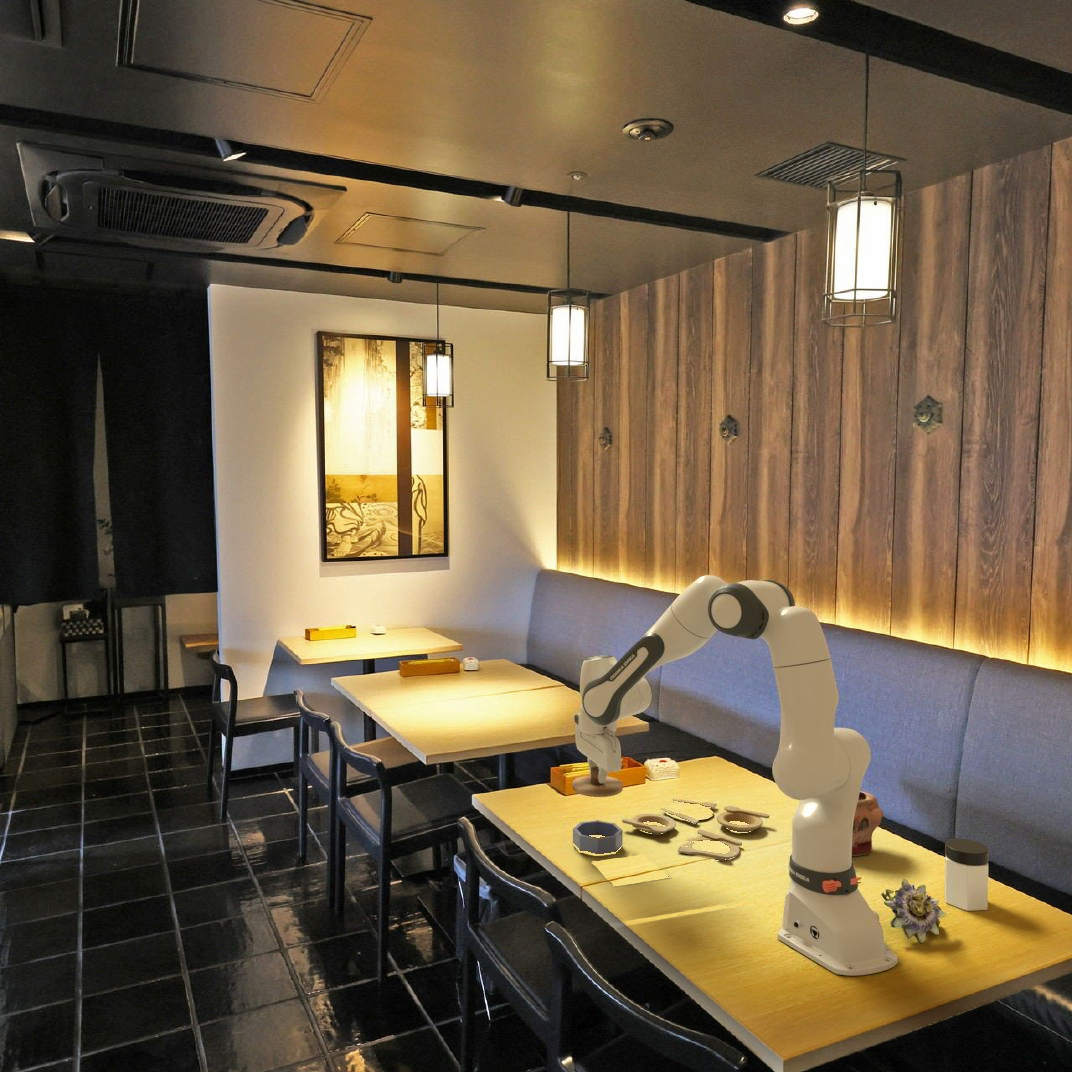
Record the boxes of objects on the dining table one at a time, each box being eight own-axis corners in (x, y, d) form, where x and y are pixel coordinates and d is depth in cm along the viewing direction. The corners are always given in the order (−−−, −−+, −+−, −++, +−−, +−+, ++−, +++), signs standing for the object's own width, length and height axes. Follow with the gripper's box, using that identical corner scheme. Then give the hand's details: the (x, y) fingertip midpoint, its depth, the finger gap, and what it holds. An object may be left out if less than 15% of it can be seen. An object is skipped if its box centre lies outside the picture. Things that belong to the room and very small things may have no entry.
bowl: (628, 855, 202) (628, 835, 202) (584, 862, 198) (584, 841, 198) (609, 838, 212) (609, 818, 212) (568, 844, 209) (568, 823, 208)
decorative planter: (825, 866, 196) (826, 807, 195) (792, 846, 207) (793, 790, 207) (895, 855, 203) (896, 797, 202) (859, 835, 214) (860, 781, 214)
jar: (973, 892, 183) (975, 837, 183) (997, 910, 175) (999, 852, 175) (934, 894, 183) (935, 838, 182) (956, 912, 174) (958, 854, 174)
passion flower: (919, 968, 163) (898, 929, 159) (881, 931, 173) (860, 893, 169) (963, 931, 165) (943, 891, 160) (922, 897, 175) (903, 858, 171)
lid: (630, 793, 201) (631, 773, 201) (583, 799, 197) (583, 778, 197) (610, 778, 212) (610, 758, 212) (565, 783, 208) (565, 763, 208)
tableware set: (721, 871, 195) (722, 854, 194) (612, 840, 212) (612, 824, 212) (779, 825, 222) (779, 809, 222) (678, 800, 240) (679, 786, 240)
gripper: (628, 732, 195) (628, 792, 196) (594, 711, 214) (593, 765, 215) (603, 734, 193) (602, 795, 194) (570, 713, 212) (570, 768, 213)
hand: (597, 779), depth 205 cm, fingers closed on lid, 3 cm apart
